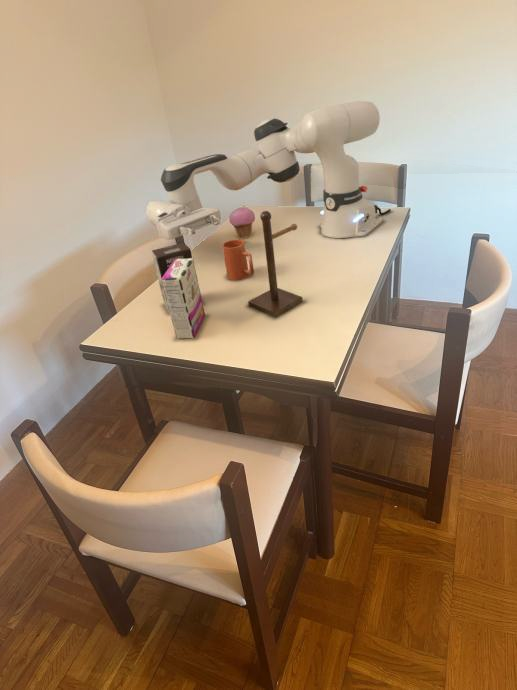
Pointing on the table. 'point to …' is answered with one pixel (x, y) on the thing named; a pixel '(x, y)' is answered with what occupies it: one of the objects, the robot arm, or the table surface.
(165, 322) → the table surface
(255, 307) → the mug stand
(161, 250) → the coffee box
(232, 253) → the mug
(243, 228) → the cupcake
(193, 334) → the candy bar box
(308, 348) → the table surface
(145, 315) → the table surface
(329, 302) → the table surface
